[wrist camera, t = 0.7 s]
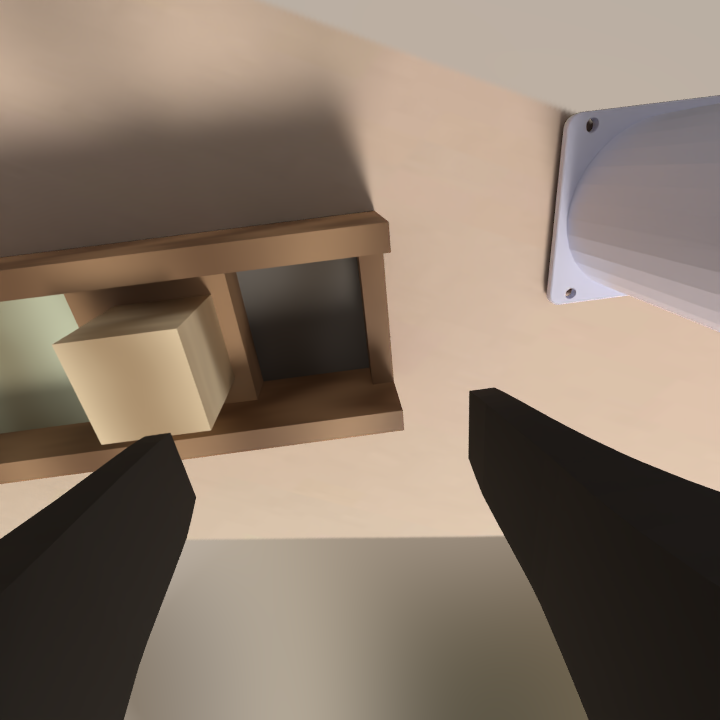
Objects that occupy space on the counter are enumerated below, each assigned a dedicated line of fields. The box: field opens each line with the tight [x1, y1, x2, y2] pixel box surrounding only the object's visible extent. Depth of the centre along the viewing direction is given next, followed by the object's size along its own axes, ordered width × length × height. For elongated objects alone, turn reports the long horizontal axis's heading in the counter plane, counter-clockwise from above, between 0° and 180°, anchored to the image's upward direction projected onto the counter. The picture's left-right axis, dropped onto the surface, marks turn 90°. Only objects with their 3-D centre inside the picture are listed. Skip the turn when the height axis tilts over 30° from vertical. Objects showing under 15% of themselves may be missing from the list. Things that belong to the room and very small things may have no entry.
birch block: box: [52, 294, 235, 445], centre depth 15 cm, size 4×4×4 cm
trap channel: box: [0, 211, 404, 484], centre depth 17 cm, size 26×8×4 cm, turn 96°
